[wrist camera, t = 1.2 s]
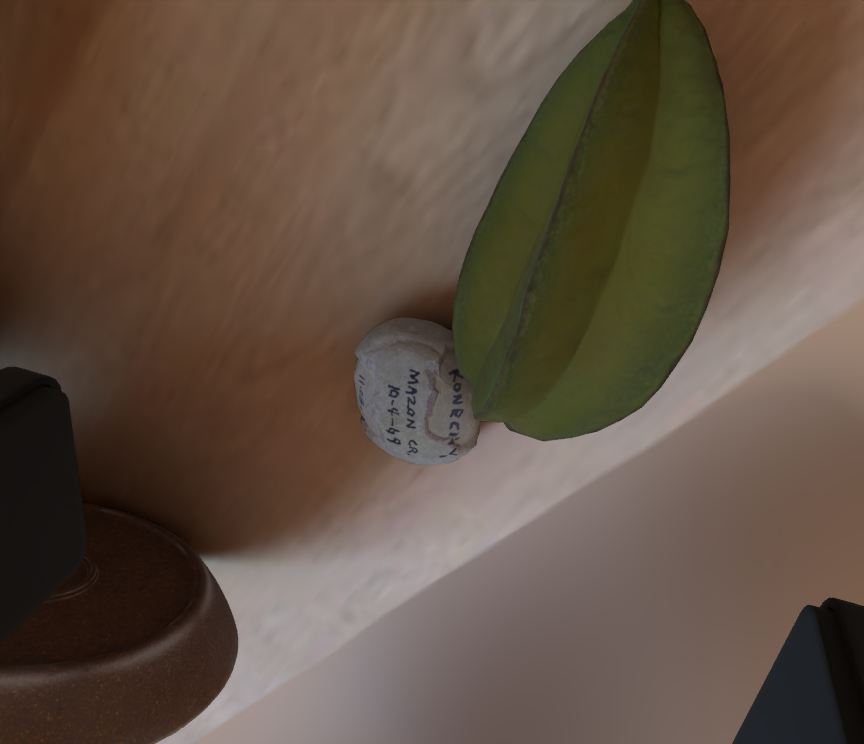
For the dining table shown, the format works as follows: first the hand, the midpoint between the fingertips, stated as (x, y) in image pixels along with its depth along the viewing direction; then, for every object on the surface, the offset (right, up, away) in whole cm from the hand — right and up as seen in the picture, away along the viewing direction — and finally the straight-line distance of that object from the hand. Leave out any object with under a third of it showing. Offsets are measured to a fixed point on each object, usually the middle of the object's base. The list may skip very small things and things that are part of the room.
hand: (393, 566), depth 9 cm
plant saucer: (-16, -5, +22) cm, 27 cm away
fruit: (+5, +4, +11) cm, 13 cm away
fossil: (+2, +1, +19) cm, 19 cm away
